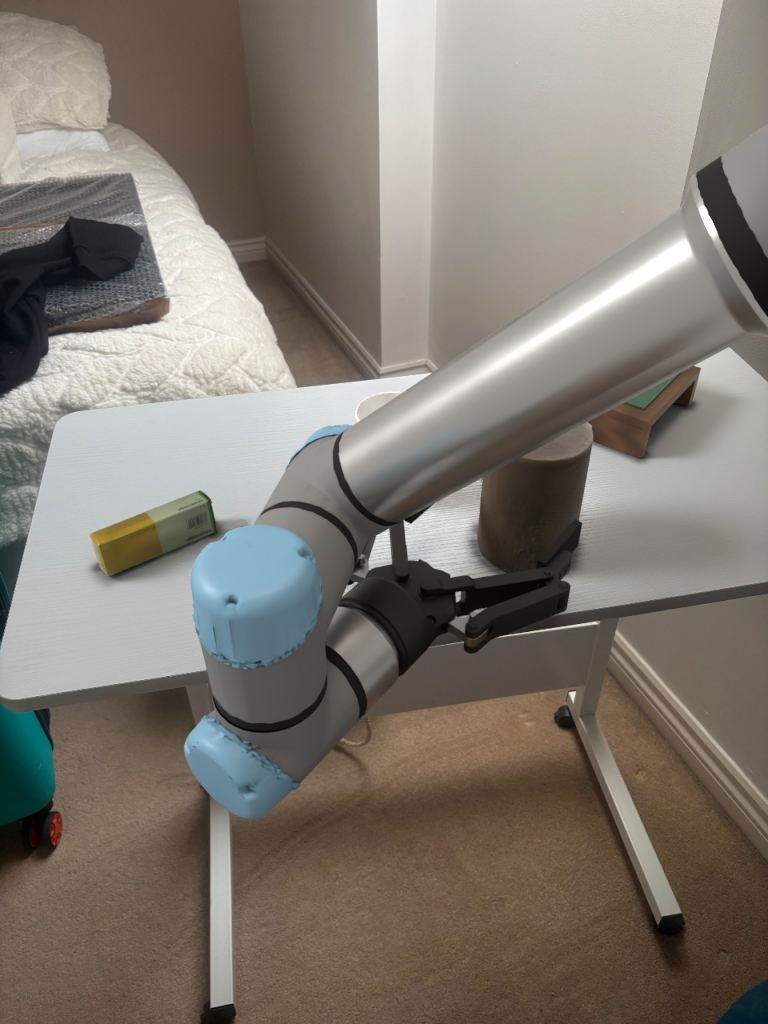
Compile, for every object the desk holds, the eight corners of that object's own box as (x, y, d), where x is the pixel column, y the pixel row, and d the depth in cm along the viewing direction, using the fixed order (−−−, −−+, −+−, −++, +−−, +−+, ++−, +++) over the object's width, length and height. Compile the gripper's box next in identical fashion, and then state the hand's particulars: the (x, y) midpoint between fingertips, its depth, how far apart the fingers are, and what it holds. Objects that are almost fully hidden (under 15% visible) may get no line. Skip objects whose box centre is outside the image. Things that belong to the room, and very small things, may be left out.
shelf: (692, 403, 104) (705, 353, 99) (640, 458, 95) (652, 406, 90) (590, 369, 110) (598, 320, 106) (533, 418, 101) (539, 367, 97)
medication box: (208, 520, 87) (201, 488, 85) (219, 531, 85) (213, 499, 83) (97, 565, 81) (87, 532, 79) (107, 578, 80) (97, 545, 77)
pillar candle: (510, 588, 79) (525, 460, 69) (459, 528, 85) (467, 404, 76) (594, 558, 82) (620, 431, 72) (539, 502, 89) (556, 380, 79)
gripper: (253, 605, 72) (400, 485, 84) (501, 757, 60) (628, 590, 72) (242, 540, 67) (400, 423, 80) (510, 691, 55) (645, 525, 68)
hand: (509, 503), depth 76 cm, fingers open, 13 cm apart
